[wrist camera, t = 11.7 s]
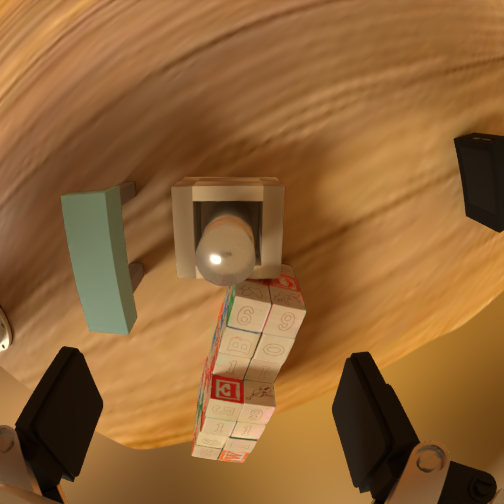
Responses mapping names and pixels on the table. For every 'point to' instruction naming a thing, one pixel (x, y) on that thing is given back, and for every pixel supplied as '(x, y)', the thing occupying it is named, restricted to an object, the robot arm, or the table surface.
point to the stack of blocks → (246, 365)
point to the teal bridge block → (102, 257)
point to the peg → (227, 245)
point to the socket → (229, 189)
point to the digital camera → (482, 177)
